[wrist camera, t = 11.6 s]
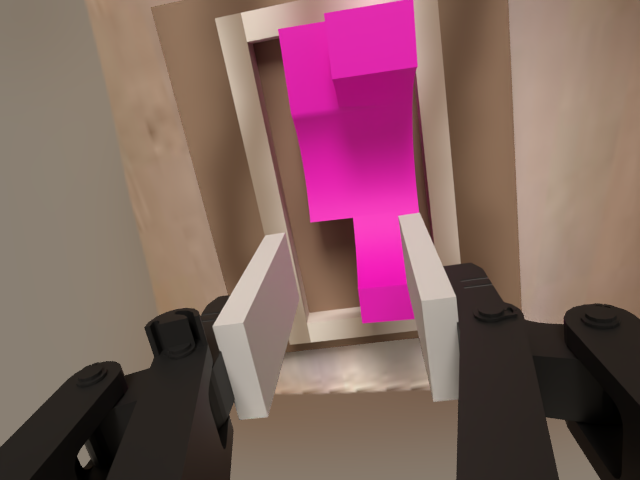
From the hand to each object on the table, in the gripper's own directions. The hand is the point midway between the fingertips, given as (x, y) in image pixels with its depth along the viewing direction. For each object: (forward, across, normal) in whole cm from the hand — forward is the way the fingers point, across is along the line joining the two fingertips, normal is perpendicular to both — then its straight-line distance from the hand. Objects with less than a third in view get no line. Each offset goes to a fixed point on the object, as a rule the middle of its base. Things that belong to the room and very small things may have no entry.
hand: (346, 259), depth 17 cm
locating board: (+15, 0, 0) cm, 15 cm away
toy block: (+14, +1, +1) cm, 14 cm away
